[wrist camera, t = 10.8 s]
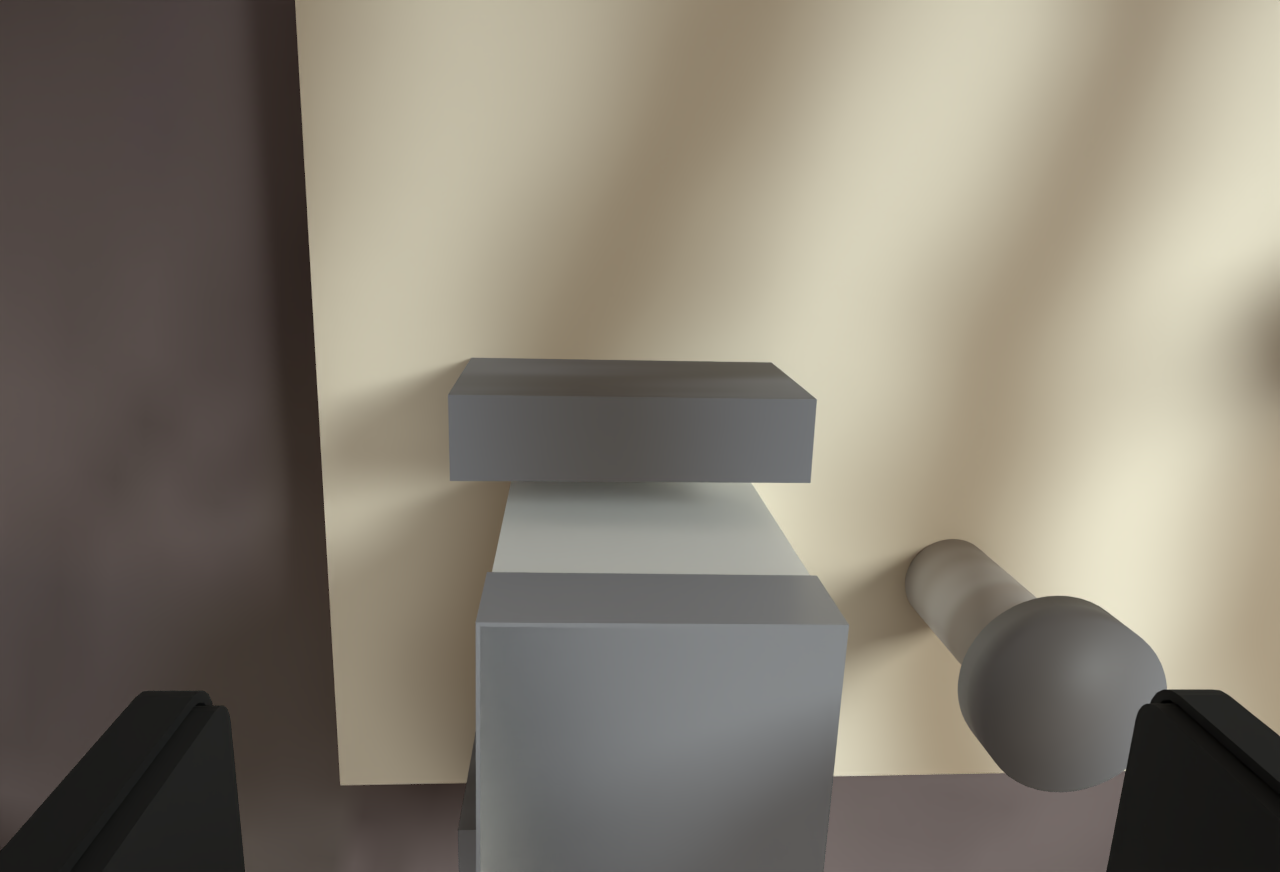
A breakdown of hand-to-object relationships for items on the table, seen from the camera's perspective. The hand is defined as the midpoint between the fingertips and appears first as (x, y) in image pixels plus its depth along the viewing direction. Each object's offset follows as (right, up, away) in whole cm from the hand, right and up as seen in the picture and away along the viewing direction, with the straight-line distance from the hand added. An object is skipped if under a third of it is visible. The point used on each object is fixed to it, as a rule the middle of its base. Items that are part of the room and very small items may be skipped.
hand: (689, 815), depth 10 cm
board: (+6, +4, +8) cm, 11 cm away
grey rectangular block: (-1, +1, +7) cm, 7 cm away
